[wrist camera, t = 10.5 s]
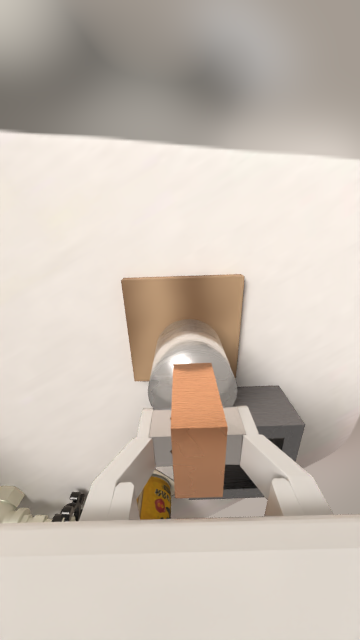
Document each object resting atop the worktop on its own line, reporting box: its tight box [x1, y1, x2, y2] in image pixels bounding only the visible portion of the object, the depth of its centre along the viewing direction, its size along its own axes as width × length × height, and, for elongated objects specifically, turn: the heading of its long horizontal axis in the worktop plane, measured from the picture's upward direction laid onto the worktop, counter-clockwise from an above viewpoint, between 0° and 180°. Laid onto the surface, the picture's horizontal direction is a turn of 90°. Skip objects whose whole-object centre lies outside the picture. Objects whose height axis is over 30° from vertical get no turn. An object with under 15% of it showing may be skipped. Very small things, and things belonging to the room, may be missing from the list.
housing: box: [189, 386, 305, 500], centre depth 22 cm, size 10×10×5 cm
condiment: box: [136, 470, 175, 520], centre depth 24 cm, size 7×8×12 cm
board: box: [121, 274, 244, 381], centre depth 19 cm, size 10×10×1 cm
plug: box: [148, 319, 237, 498], centre depth 12 cm, size 5×5×9 cm
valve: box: [0, 486, 84, 523], centre depth 26 cm, size 7×7×12 cm
